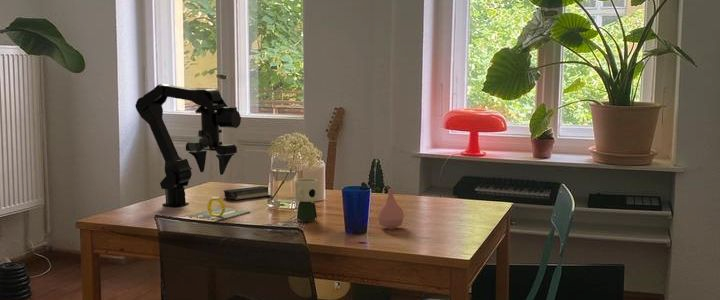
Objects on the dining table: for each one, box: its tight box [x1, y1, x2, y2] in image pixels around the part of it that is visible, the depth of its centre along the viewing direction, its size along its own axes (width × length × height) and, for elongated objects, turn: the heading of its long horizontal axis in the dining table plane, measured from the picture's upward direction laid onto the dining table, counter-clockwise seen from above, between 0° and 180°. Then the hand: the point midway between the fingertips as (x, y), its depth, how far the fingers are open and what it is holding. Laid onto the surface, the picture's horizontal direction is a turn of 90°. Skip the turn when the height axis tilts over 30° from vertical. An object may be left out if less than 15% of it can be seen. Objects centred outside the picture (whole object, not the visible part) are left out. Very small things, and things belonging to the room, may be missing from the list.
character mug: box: [294, 177, 319, 222], centre depth 235 cm, size 11×7×13 cm, turn 156°
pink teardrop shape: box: [377, 187, 405, 230], centre depth 225 cm, size 8×8×12 cm
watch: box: [207, 196, 226, 216], centre depth 241 cm, size 6×3×6 cm, turn 65°
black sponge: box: [223, 185, 269, 201], centre depth 275 cm, size 16×8×4 cm, turn 124°
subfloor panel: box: [182, 206, 251, 221], centre depth 243 cm, size 13×22×1 cm, turn 145°
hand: (211, 173), depth 254 cm, fingers open, 9 cm apart
